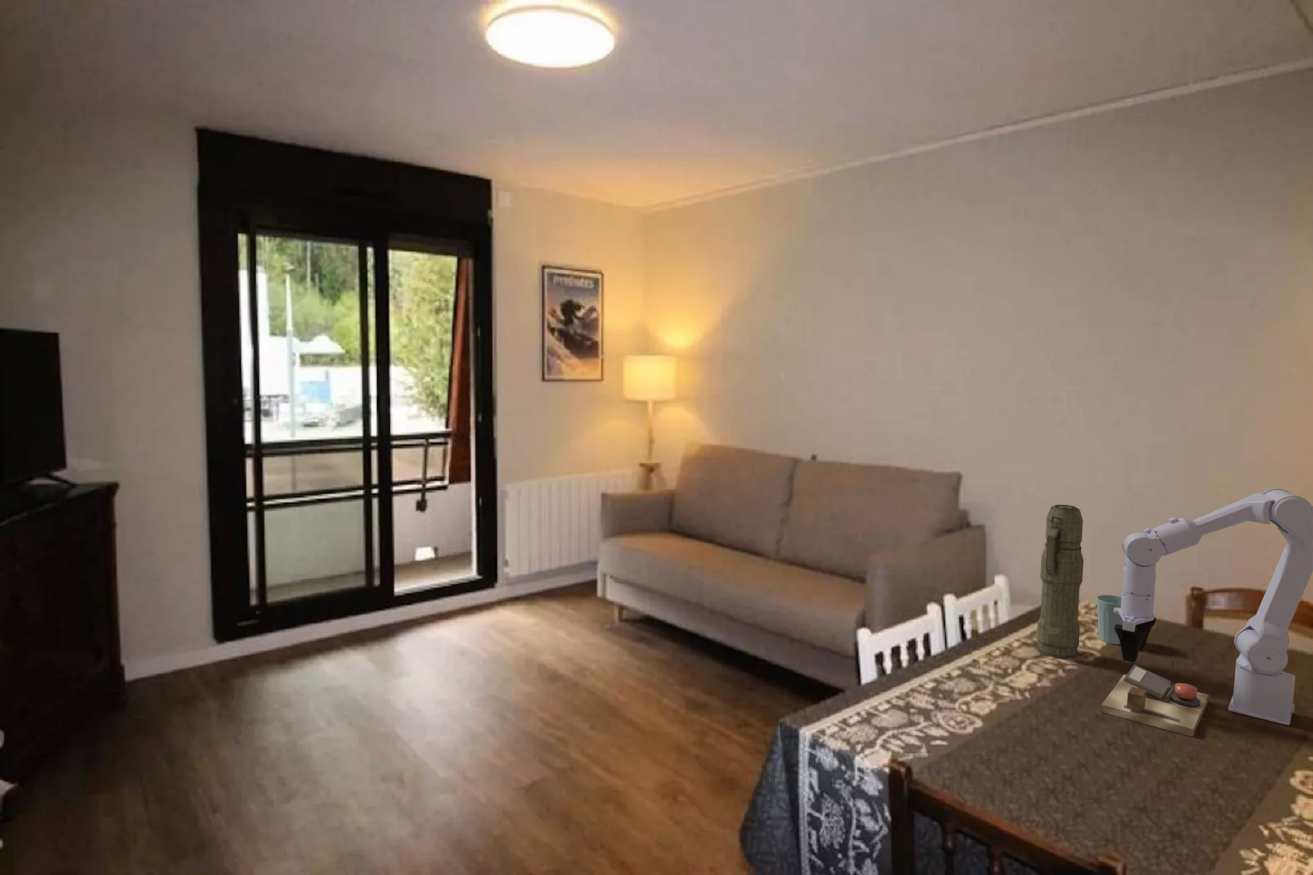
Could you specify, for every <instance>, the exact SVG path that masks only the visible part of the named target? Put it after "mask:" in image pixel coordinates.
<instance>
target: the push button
mask: <svg viewBox="0 0 1313 875" xmlns="http://www.w3.org/2000/svg"><path fill="white" fill-rule="evenodd" d="M1174 684H1175V695H1176V696H1178V697H1181V698H1184V699H1190V700H1194V699H1196V698H1197V692H1198V688H1197V687H1196V686H1194V685H1191V684H1189V683H1182V682H1179V683H1178V682H1177V683H1174Z"/></svg>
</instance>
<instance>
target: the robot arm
mask: <svg viewBox="0 0 1313 875" xmlns="http://www.w3.org/2000/svg"><path fill="white" fill-rule="evenodd" d="M1167 521H1168V522H1167V523H1164V524H1161V525H1158V526H1156V527H1154V528H1149V527H1146V528H1144V529H1143V531H1144V532H1134V533H1131V534H1129V535H1127V536H1126V538H1125V539H1124V541H1123V543H1122V544H1121V548H1122V551H1123V553H1124V554H1125V556H1124V557H1125V558H1124V566H1123V571H1122V582H1121V583H1122V584H1121V596H1120V597H1121V608H1115V609H1114V613H1118V614H1120V616H1121V618H1122V620H1123V625H1120V624H1116V625H1115V627H1114V629H1115V632H1116V634H1117V636H1118V638H1119V641H1120V644H1119V645H1120V649H1121V655H1122V659H1123V661H1126V662H1130V663H1133V664H1135V663H1136V661H1137V659H1138V656H1139V653H1140V652H1141V653H1143V652H1144V650H1145V648H1146V645H1147V641H1148V639H1149V635H1150V632H1151V629H1153V626H1154V625H1155V624H1156V623H1157V621H1158V620H1157V618H1156V617H1155V615H1154V605H1155V603H1154V602H1155V593H1156V592H1155V591H1156V578H1157V577H1156V576H1157V571H1156V567H1157V563H1158V562H1159V561H1160V560H1161V558H1162V556H1164V557H1166V556H1168V555H1170V554H1171V555H1172V554H1174V553H1177V552H1180V551H1182V550H1185V549H1188V548H1190V547H1193V546H1197V545H1198V544H1199V543H1200V541H1201V539H1202V537H1203V536H1204V535H1205V536H1206V535H1208V534H1212V533H1214V532H1216V531H1221V530H1223V529H1226V528H1229V527H1233V526H1236V525H1239V524H1242V523H1246V522H1252V523H1257V524H1258V523H1259V524H1264V525H1265V524H1266V525H1271V523H1272V524H1273V525H1274V526H1275V527H1277V529H1278V531H1279V533H1280V534H1281V535H1282V536H1283V538H1284V539H1285V541H1286V544H1285V546H1284V548H1283V551H1282V553H1281V556H1280V558H1279V560H1278V562H1277V565H1276V567H1275V569H1274V572H1273V575H1272V577H1271V579H1270V581H1269V584H1268V585H1267V589H1266V591H1265V593H1264V595H1263V598H1262V600H1261V602H1260V605H1259V607H1258V609H1257V611H1256V614H1255V615H1253V616H1252V617H1251V618H1249V619H1248V620H1247V622H1246V625H1245V626H1244V627H1243V628H1242V629H1241V630H1239V631H1238V632H1237V633H1236V634H1235V637H1234V641H1233V642H1234V646H1235V649H1236V650H1237V651H1238V652H1239V656H1238V657H1237V658H1236V660H1235V669H1234V670H1235V672H1234V683H1233V684H1234V685H1233V694H1232V696H1231V698H1230V699H1231V700H1230V702H1229V704H1228V707H1227V709H1228V710H1227V711H1229V712H1232V713H1233V712H1234V713H1237V714H1241V715H1244V716H1249V717H1253V718H1256V719H1261V720H1265V721H1270V722H1273V723H1278V724H1282V725H1286V726H1290V725H1291V720H1292V714H1294V713H1295V706H1296V705H1295V703H1294V694H1295V684H1296V674H1291V673H1288V672H1285V671H1283V670H1284V669H1285V668H1286V666H1287V665H1288V662H1289V657H1288V656H1289V655H1288V652H1287V651H1288V647H1289V645H1290V636H1289V635H1290V634H1289V627H1290V625H1291V622H1292V620H1293V619H1294V616H1295V613H1296V611H1297V608H1298V606H1299V604H1300V601H1301V599H1302V597H1303V594H1304V593H1305V590H1306V588H1307V586H1308V583H1309V581H1310V579H1311V577H1312V574H1313V505H1312V503H1310V501H1309V500H1308V499H1306V498H1304V497H1302V496H1298V495H1296V494H1293V493H1292V492H1290V491H1288V490H1287V489H1284V488H1277V487H1275V488H1270V489H1267V490H1265V491H1263V492H1257V493H1253V494H1251V495H1249V496H1246V497H1244V498H1242V499H1240V500H1238V501H1235V502H1233V503H1231V504H1228V505H1225V506H1223V507H1221V508H1218V509H1216V510H1214V511H1212V512H1210V513H1207V514H1205V515H1203V516H1200V517H1197V518H1195V519H1189V518H1186V517H1180V518H1177V517H1170V518H1168V520H1167Z"/></svg>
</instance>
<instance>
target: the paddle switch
mask: <svg viewBox="0 0 1313 875" xmlns="http://www.w3.org/2000/svg"><path fill="white" fill-rule="evenodd" d="M1125 675H1126V677H1125V678H1124V681H1125V682H1127V683H1129V684H1131V685H1133V686H1135V687H1137V688H1139V689H1143V690H1146V692H1148V693H1150V694H1152V695H1154V696H1156V697H1158V698H1160V699H1162V698H1163V696H1164V694H1165V693H1166V691H1167V689H1168V687H1169V686H1171V683H1172V681H1171V680H1169V679H1167V678H1164V677H1162V676H1160V675H1158V674H1156V673H1153V672H1151V671H1150V670H1147V669H1145V668H1143V667H1140V666H1138V665H1137V664H1133V666H1132V667H1131V668H1130V670H1129V671H1128V672H1127V674H1125Z"/></svg>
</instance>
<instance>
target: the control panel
mask: <svg viewBox="0 0 1313 875" xmlns="http://www.w3.org/2000/svg"><path fill="white" fill-rule="evenodd" d="M1126 675H1127V674H1123V675H1122V676H1121V678H1120V679H1119V681H1118V682H1117V683H1116V684H1115V686H1114V687H1113V689H1112V690H1111V691H1110V693H1109V694H1108V695H1107V697H1106V698H1105V699H1104V701H1103V702H1102V703H1101V710H1100V711H1101V713H1104V714H1106V715H1107V714H1108V715H1110V716H1111V715H1112V716H1115V717H1118V718H1123V719H1126V720H1130V721H1134V722H1137V723H1139V724H1140V723H1141V724H1144V725H1147V726H1151V727H1155V728H1158V729H1162V730H1166V731H1169V732H1172V733H1173V732H1174V733H1176V734H1180V735H1185V736H1188V737H1191V738H1192V737H1194V735H1195V733H1196V730H1197V728H1198V726H1199V724H1200V721H1201V719H1202V716H1203V714H1204V712H1205V710H1206V707H1207V705H1208V703H1209V694H1208V693H1207V694H1206V693H1201V692H1198V691H1197V698H1196V699H1194V700H1190V699H1184V698H1181V697H1178V696H1176V695H1175V684H1176V683H1172V684H1170V686H1169V687H1168V689H1167V691H1166V693H1165V694H1164V696H1163V698H1162V699H1160V698H1158V697H1156V696H1154V695H1152V694H1150V693H1148V692H1146V698H1145V707H1144V708H1143V710H1142V712H1138V711H1135V710H1131V709H1127V698H1128V692H1129V690H1130V689H1131V687H1135V686H1133V685H1131V684H1129V683H1127V682H1125V681H1124V678H1125V677H1126ZM1135 688H1137V687H1135Z"/></svg>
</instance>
